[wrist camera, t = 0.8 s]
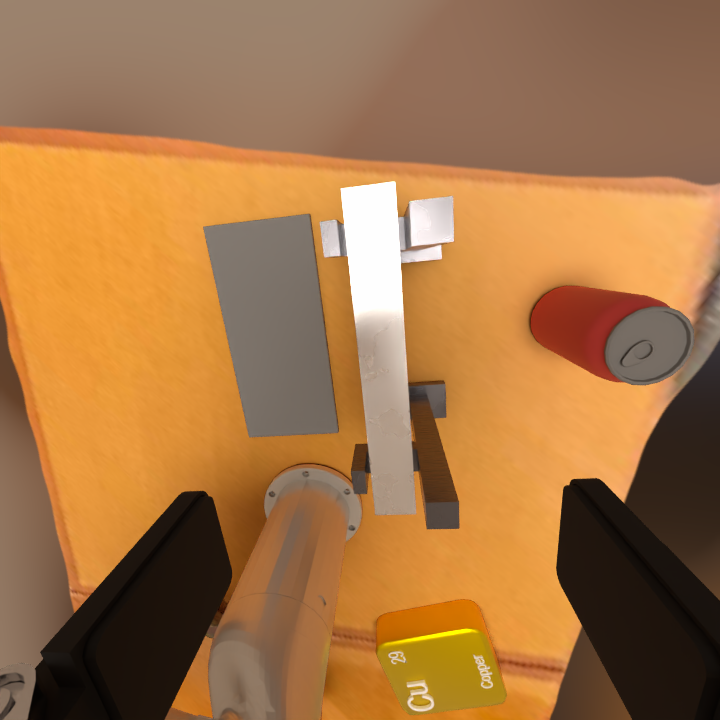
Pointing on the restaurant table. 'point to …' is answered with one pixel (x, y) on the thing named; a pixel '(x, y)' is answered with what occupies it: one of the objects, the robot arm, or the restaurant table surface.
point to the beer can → (614, 333)
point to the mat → (275, 324)
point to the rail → (381, 341)
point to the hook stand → (426, 399)
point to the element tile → (439, 658)
